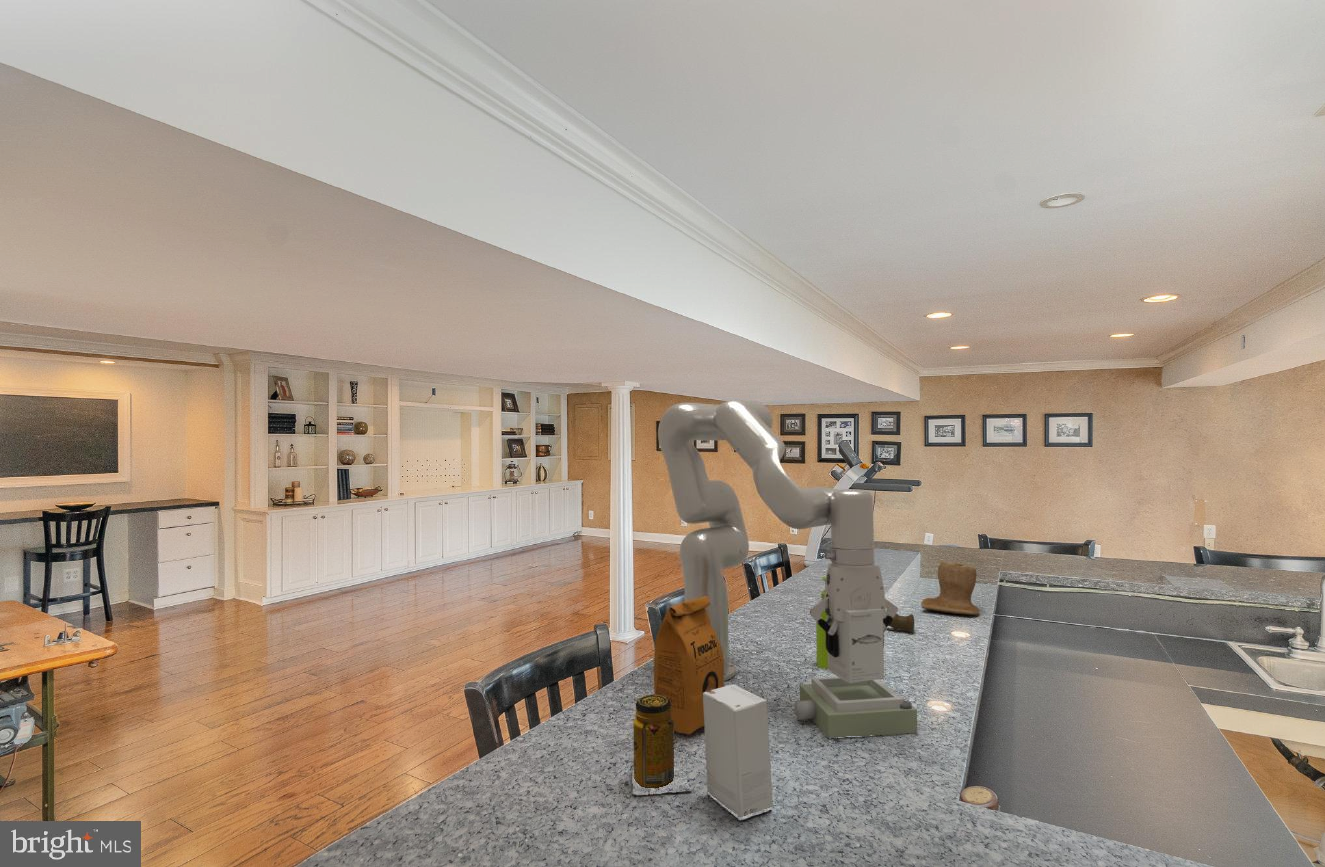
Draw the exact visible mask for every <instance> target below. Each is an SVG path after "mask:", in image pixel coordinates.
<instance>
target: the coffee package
mask: <svg viewBox="0 0 1325 867" xmlns="http://www.w3.org/2000/svg"><path fill="white" fill-rule="evenodd" d="M709 605H710V601H709V599H708V597H707V596H704V597H701V598H697V599H693V600H690V601H686V602H685V601H681V602H678V603H676V604H674V605H672V606H669V607H668V609H667V611H666V614H665V615H664V618H663V619H662V623H661V624H660V627H659V629H658V631H657V635H656V636H655V644H654V645H655V646H654V653H653V654H654V655H653V656H654V657H653V658H654V660H653V664H654V665H653V690H654V691H653V695H661V696H665V697H667V698H668V699H669V700H670V702H671V716H672V718H673V721H674V732H676V733H679V734H686V735H691V734H692V733H694V732H695V731H697V730H698V729H701V728H702V727H703V728H704V707H703V693H704V692H707V691H710V690H714V689H717V688H721V687H725V684H724V683H725V681H724V658H723V653H722V648H721V645H720V643H719V640H718V637H717V635H716V633H715V630H714V629H713V627H712V626H711V623H710V619H709V616H708V612H707V611H706V610H705V607H708V606H709Z"/></svg>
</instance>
